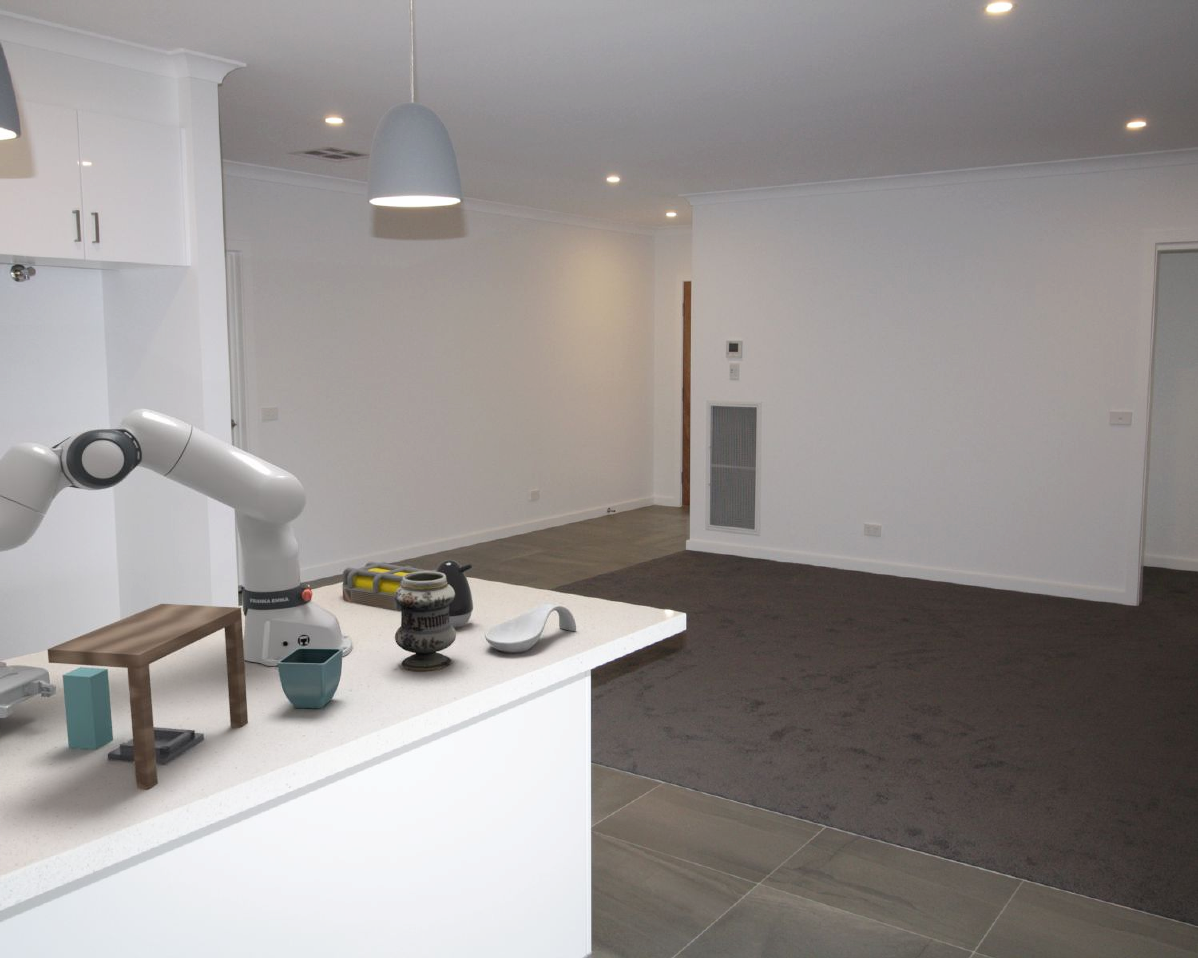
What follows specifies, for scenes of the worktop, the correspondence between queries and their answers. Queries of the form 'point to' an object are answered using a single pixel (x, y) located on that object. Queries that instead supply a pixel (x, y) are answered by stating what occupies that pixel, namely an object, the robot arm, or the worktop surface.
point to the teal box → (88, 708)
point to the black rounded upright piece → (458, 592)
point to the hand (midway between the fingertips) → (31, 700)
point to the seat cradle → (161, 745)
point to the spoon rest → (527, 628)
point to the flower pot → (310, 676)
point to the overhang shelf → (147, 643)
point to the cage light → (375, 584)
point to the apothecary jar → (425, 620)
